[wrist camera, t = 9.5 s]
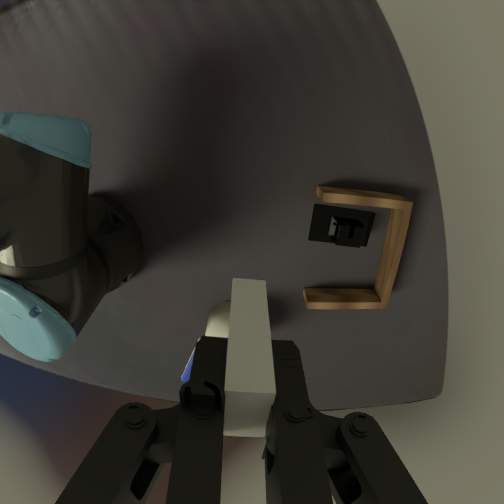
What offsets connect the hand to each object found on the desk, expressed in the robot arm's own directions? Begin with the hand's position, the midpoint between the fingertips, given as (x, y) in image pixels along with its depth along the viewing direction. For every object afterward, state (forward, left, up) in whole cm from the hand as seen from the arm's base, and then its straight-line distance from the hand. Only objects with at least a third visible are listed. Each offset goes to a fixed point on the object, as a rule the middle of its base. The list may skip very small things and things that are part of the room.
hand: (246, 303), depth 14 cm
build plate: (+14, -6, -29) cm, 32 cm away
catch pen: (+15, -9, -28) cm, 33 cm away
